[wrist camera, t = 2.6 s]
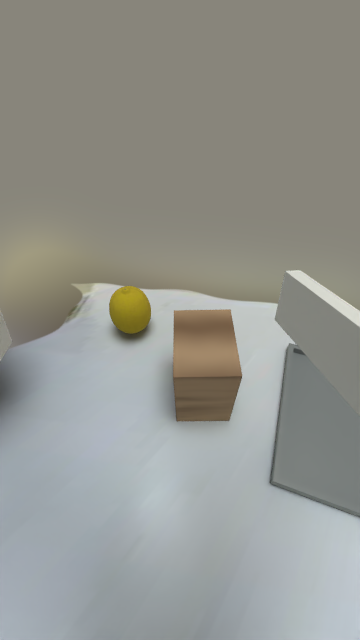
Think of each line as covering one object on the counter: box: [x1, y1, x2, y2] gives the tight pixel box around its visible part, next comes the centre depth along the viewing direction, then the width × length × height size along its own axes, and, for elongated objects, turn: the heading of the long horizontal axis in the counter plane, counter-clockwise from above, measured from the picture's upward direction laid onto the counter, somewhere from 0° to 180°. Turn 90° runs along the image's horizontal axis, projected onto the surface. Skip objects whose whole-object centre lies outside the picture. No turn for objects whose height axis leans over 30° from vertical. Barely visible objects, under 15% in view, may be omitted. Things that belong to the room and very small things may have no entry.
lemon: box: [109, 286, 151, 334], centre depth 38 cm, size 6×6×8 cm
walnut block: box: [173, 310, 242, 421], centre depth 30 cm, size 8×6×10 cm
